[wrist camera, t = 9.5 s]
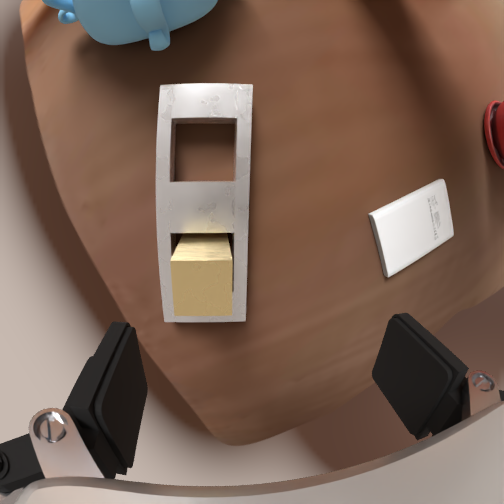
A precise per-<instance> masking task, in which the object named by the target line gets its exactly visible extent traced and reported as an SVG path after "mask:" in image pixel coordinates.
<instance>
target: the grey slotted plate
mask: <svg viewBox="0 0 504 504" xmlns="http://www.w3.org/2000/svg"><path fill="white" fill-rule="evenodd" d="M252 93H253V85H247V84H221V83H196V84H170V85H160V95H159V108H158V124H157V146H156V218H157V242H158V258H159V272H160V284H161V294H162V304H163V313H164V321H165V322H239V321H246V292H247V255H248V219H249V186H250V153H251V123H252ZM195 123H222V124H235V136H234V168H233V181H174V180H175V137H176V124H195ZM175 233H232V260H233V268H232V316H174V305H173V293H172V280H171V265H170V260H171V258H172V256H173V254H174V252H175V250H176V243H175Z"/></svg>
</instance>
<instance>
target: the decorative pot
mask: <svg viewBox="0 0 504 504" xmlns="http://www.w3.org/2000/svg"><path fill="white" fill-rule="evenodd" d="M42 1H43V2H44V3H45V4H46V5H48V6H51V7H53V8H56V9H60V12H59V14H58V19H59V21H60V22H61V23H63V24H69V23H73V22H76V21H78V20H79V21H80V23H81V24H82V26H83V27H84V29H85V30H86V31H87V33H88V34H89V35H90V36H91V37H92V38H93V39H95V40H96V41H98V42H100V43H104V44H107V45H122V44H128V43H132V42H137V41H140V40H144V39H148V38H149V42H150V48H151V50H153V51H161V50H164V49H165V48H167V47H168V46H169V45H170V33H169V32H170V31H172V30H175V29H178V28H180V27H183V26H185V25H188V24H190V23H192V22H194V21H196V20H198V19H200V18H201V17H203V16H205V15H206V14H207V13H208V12H210V11H211V9H212V8H213V7H214V6H215V5H216V3H217V1H218V0H42Z"/></svg>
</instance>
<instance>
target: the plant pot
mask: <svg viewBox="0 0 504 504" xmlns="http://www.w3.org/2000/svg"><path fill="white" fill-rule="evenodd" d="M484 127H485V136H486V140H487V144H488V148H489V150H490V152H491V155H492V157H493V159H494V160H495V162H496V163H497V164H498V165H499V166H500V167H501V168H502V169H504V101H503V102H502V103H501V102H499V101H492V102H491V103H490V104H489V105H488V107H487V109H486V112H485V119H484Z"/></svg>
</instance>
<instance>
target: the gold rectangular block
mask: <svg viewBox="0 0 504 504" xmlns="http://www.w3.org/2000/svg"><path fill="white" fill-rule="evenodd" d="M170 265H171V280H172V293H173V305H174V316H232V268H233V260H232V255H231V250H230V246H229V241H228V236H227V233H183V235H182V237H181V239H180V241H179V243H178V245H177V248H176V250H175V252H174V254H173V256H172V258H171V260H170Z"/></svg>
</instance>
